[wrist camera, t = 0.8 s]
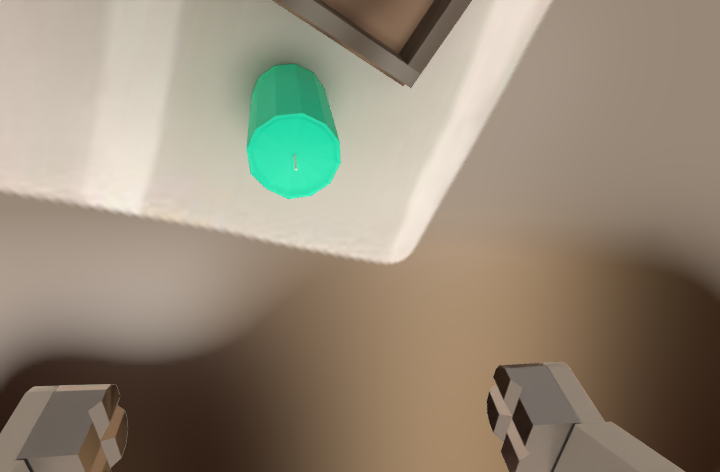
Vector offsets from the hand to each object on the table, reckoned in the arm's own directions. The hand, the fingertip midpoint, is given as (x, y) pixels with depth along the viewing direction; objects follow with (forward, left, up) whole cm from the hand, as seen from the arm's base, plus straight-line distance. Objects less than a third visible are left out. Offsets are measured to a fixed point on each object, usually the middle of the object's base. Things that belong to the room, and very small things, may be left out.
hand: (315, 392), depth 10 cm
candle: (+3, -4, -32) cm, 32 cm away
